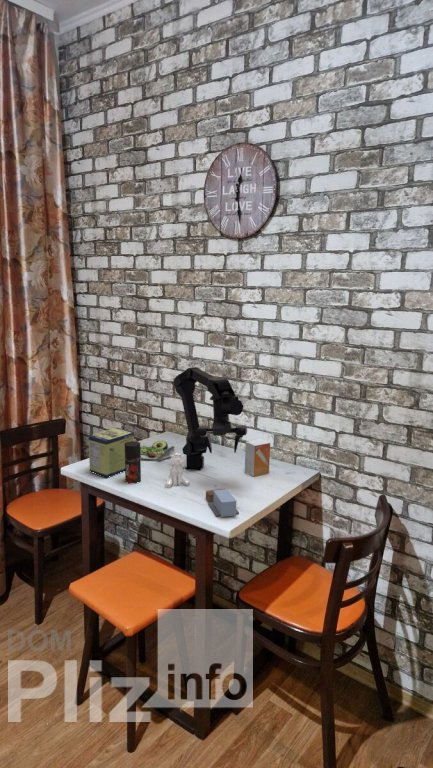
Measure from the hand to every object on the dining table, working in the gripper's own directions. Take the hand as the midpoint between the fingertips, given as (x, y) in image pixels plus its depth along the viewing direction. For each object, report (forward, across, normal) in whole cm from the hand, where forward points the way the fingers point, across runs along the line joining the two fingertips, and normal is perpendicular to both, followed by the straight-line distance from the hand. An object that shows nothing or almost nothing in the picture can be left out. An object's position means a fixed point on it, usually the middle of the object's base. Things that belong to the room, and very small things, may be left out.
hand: (223, 452), depth 199 cm
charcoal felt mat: (+14, +2, -22) cm, 26 cm away
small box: (+12, +11, +14) cm, 22 cm away
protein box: (+8, -47, +6) cm, 48 cm away
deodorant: (+10, -35, -3) cm, 37 cm away
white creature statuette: (+11, -18, -3) cm, 22 cm away
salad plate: (+8, -35, +29) cm, 46 cm away
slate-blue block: (+11, +1, -19) cm, 22 cm away
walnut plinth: (+13, -1, -15) cm, 20 cm away
